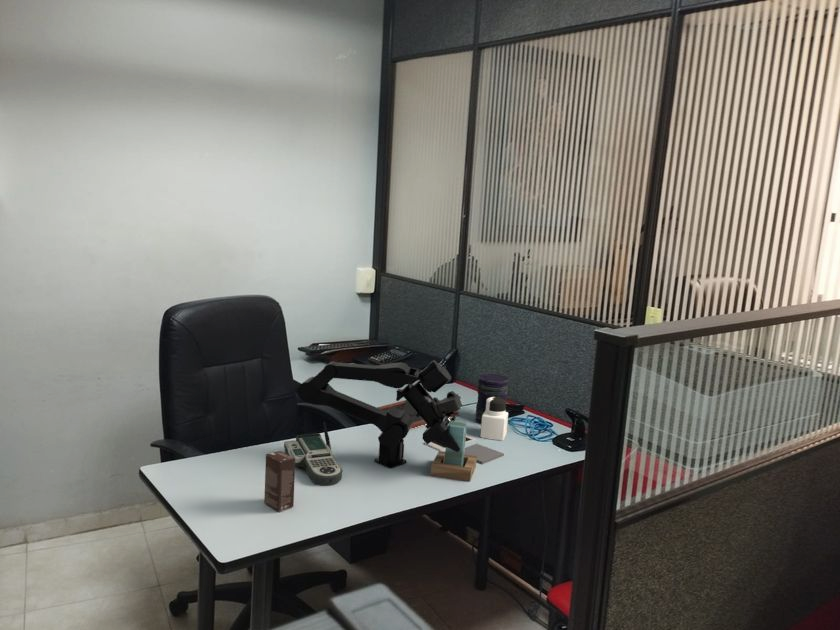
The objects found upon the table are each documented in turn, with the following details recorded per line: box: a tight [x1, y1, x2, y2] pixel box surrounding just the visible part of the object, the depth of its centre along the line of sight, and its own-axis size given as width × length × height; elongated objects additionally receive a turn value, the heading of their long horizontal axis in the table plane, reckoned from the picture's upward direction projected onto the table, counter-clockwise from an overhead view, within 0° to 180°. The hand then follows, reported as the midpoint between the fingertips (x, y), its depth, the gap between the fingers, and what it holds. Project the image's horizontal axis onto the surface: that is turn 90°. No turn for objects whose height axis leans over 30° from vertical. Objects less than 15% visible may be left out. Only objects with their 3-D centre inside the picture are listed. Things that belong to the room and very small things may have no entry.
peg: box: [444, 420, 468, 467], centre depth 181 cm, size 4×4×13 cm
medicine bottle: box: [480, 397, 509, 442], centre depth 210 cm, size 7×7×12 cm
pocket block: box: [430, 450, 477, 482], centre depth 182 cm, size 10×10×3 cm
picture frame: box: [377, 399, 459, 429], centre depth 227 cm, size 20×2×25 cm
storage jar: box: [475, 373, 509, 425], centre depth 223 cm, size 10×10×15 cm
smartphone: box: [423, 434, 476, 451], centre depth 204 cm, size 7×16×1 cm, turn 133°
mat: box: [465, 443, 505, 465], centre depth 195 cm, size 10×10×1 cm
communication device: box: [283, 421, 344, 486], centre depth 178 cm, size 12×24×9 cm, turn 25°
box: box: [263, 450, 296, 513], centre depth 156 cm, size 6×4×12 cm
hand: (460, 447), depth 181 cm, fingers closed on peg, 4 cm apart
